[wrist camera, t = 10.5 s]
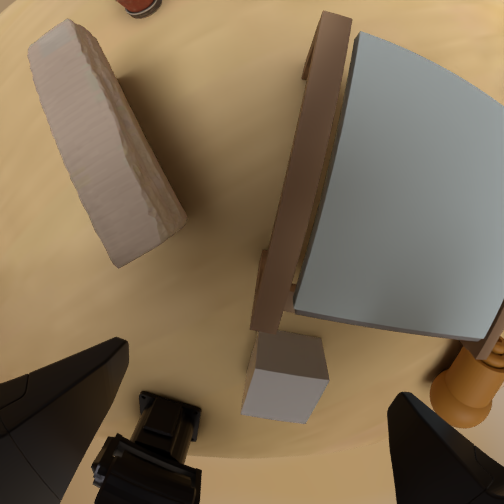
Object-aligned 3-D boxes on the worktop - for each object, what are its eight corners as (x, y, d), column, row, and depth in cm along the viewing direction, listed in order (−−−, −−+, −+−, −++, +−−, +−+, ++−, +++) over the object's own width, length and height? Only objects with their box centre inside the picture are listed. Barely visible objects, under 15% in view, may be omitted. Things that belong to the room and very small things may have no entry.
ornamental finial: (464, 381, 23) (492, 426, 16) (415, 383, 23) (441, 438, 16) (498, 320, 20) (538, 361, 13) (451, 315, 21) (494, 366, 14)
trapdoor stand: (486, 138, 16) (557, 144, 8) (437, 303, 20) (485, 361, 13) (305, 63, 16) (323, 8, 8) (258, 265, 20) (249, 331, 13)
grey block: (75, 102, 16) (16, 51, 7) (117, 76, 16) (81, 7, 7) (145, 243, 19) (117, 284, 10) (188, 217, 20) (195, 238, 11)
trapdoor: (534, 140, 9) (545, 141, 8) (472, 336, 13) (480, 345, 12) (354, 39, 9) (360, 31, 8) (289, 306, 13) (290, 317, 12)
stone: (302, 380, 24) (305, 423, 19) (246, 371, 24) (240, 414, 19) (320, 337, 22) (329, 380, 17) (259, 325, 22) (255, 368, 17)
